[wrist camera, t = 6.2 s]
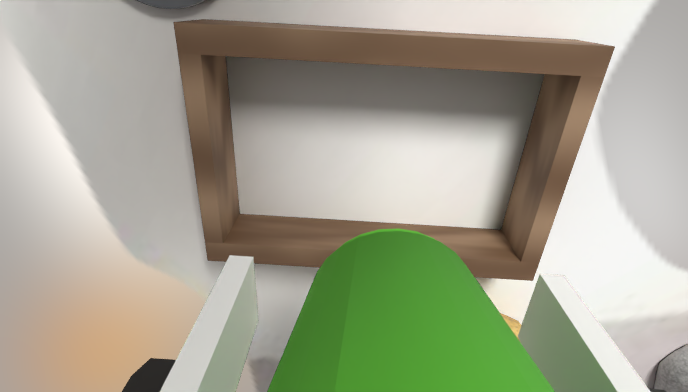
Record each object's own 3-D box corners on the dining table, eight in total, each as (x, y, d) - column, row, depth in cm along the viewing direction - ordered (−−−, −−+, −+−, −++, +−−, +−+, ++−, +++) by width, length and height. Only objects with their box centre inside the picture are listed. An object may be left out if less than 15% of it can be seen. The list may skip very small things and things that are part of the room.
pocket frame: (202, 19, 23) (173, 22, 19) (574, 39, 23) (614, 46, 19) (225, 229, 30) (207, 260, 26) (512, 247, 29) (532, 280, 26)
